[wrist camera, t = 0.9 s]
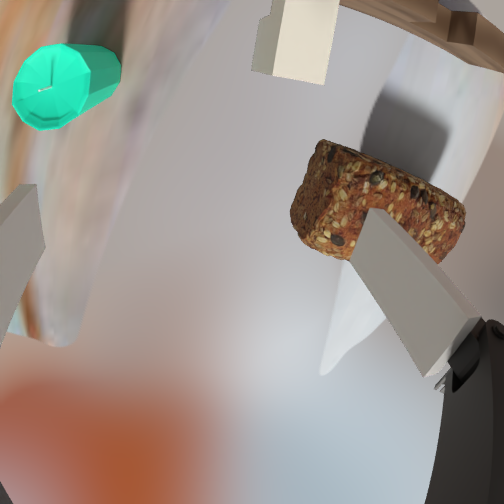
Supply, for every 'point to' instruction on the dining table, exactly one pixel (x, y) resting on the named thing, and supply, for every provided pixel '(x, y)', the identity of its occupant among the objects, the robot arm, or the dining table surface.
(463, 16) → the walnut rail
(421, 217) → the bread
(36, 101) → the candle
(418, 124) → the dining table surface
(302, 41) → the cream bar
